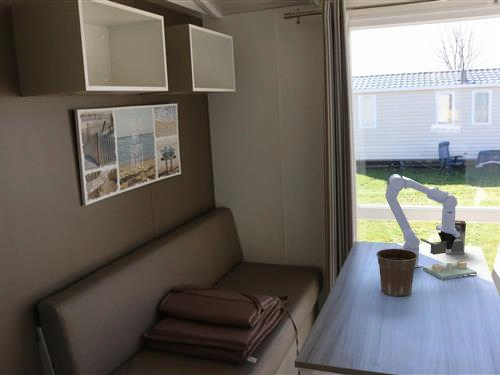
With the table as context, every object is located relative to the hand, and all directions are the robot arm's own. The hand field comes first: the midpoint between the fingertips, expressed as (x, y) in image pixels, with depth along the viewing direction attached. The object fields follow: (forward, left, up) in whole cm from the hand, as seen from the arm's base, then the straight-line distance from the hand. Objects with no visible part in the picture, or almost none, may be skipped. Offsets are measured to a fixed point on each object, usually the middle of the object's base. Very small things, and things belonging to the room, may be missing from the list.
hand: (446, 248), depth 242 cm
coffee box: (+18, +17, -9) cm, 26 cm away
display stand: (-3, -7, -9) cm, 12 cm away
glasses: (0, +4, -2) cm, 4 cm away
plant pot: (-38, -19, -9) cm, 44 cm away
